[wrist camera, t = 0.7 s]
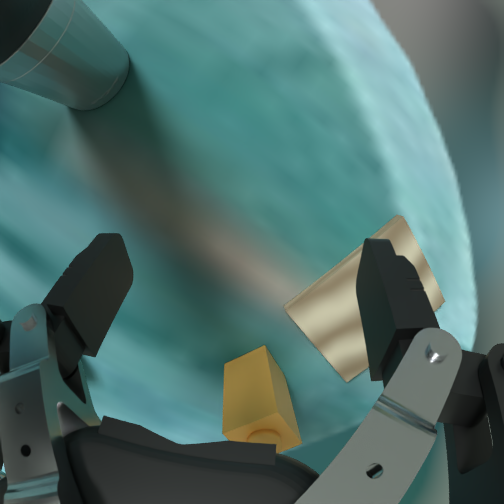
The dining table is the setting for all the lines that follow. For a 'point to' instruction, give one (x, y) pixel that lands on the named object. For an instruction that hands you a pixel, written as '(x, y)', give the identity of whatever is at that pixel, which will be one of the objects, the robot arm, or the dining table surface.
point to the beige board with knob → (353, 302)
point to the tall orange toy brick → (258, 402)
